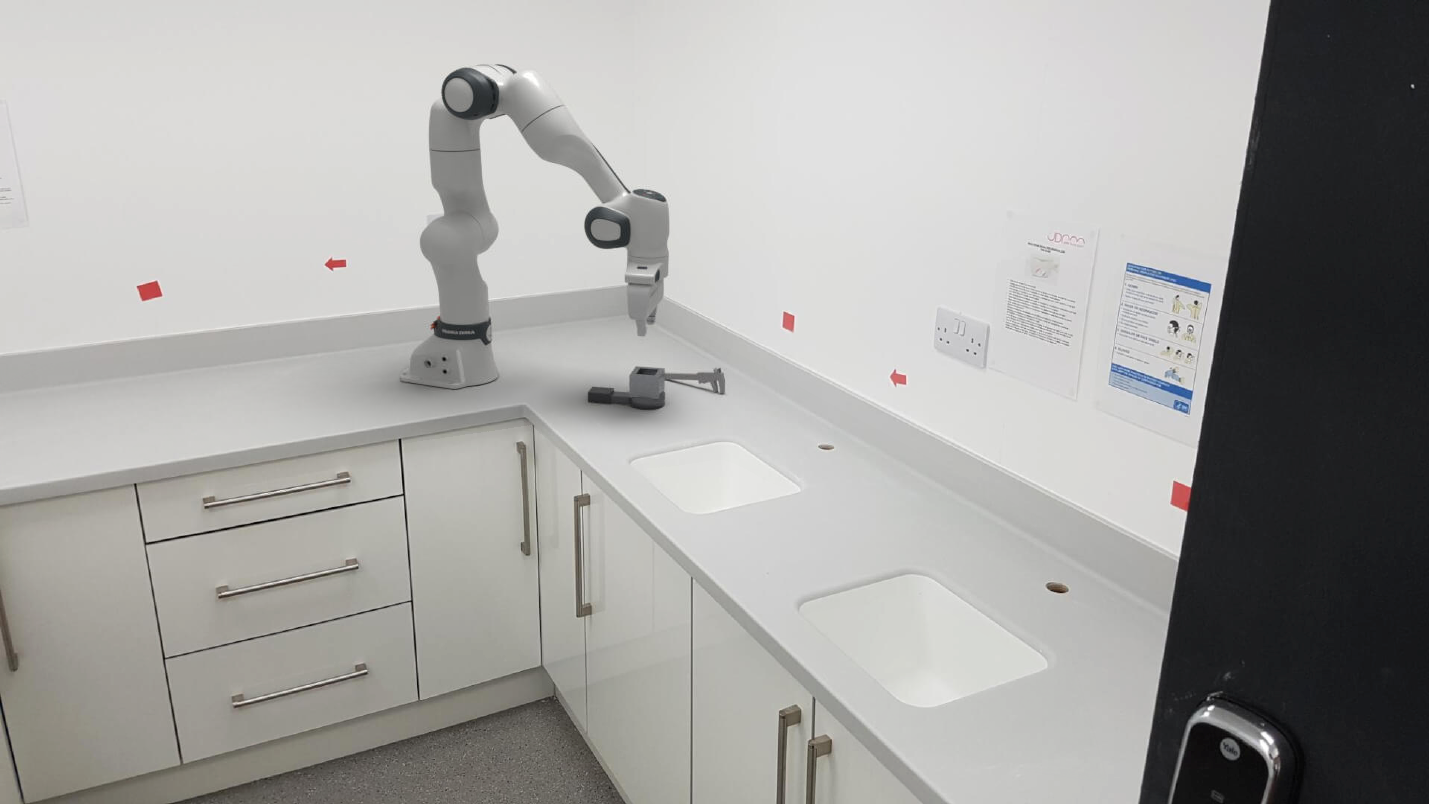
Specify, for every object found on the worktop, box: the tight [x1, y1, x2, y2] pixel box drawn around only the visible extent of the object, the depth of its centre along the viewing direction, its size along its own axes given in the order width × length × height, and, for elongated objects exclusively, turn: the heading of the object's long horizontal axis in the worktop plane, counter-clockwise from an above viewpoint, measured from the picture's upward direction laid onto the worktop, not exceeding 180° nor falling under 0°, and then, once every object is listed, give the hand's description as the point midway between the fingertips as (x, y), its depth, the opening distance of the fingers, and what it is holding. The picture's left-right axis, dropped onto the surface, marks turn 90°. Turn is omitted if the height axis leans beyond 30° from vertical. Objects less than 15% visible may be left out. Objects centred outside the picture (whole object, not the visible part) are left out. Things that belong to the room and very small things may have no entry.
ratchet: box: [587, 386, 666, 411], centre depth 244 cm, size 17×8×6 cm, turn 82°
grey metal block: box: [628, 365, 666, 399], centre depth 242 cm, size 7×7×5 cm
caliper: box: [665, 367, 726, 395], centre depth 256 cm, size 20×1×6 cm, turn 55°
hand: (646, 329), depth 238 cm, fingers open, 8 cm apart
